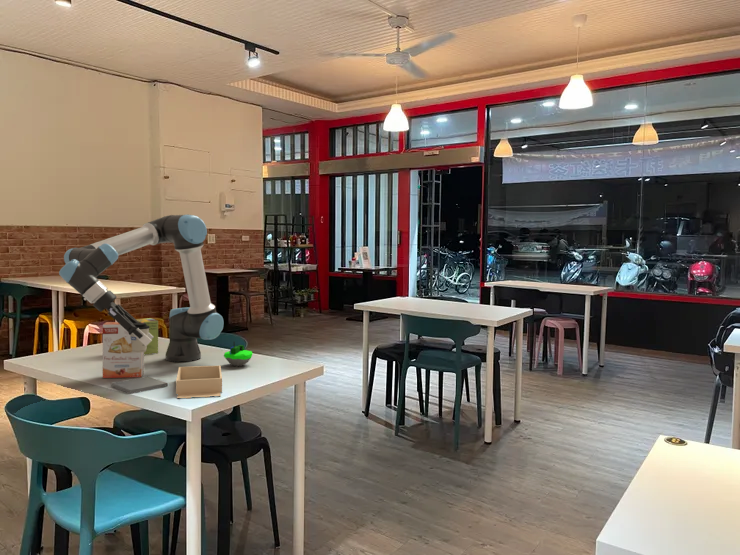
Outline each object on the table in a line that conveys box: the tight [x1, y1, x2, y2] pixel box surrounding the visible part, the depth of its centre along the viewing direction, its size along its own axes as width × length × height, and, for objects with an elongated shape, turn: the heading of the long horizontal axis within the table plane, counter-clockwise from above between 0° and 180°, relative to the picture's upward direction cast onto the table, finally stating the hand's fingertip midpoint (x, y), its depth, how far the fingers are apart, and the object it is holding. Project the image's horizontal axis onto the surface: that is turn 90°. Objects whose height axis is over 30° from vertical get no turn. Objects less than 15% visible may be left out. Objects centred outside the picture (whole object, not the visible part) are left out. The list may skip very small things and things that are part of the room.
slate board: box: [110, 375, 169, 394], centre depth 199 cm, size 14×14×1 cm
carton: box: [175, 365, 223, 399], centre depth 201 cm, size 15×31×5 cm, turn 17°
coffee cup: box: [130, 323, 150, 353], centre depth 198 cm, size 7×7×10 cm
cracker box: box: [102, 321, 145, 379], centre depth 213 cm, size 14×6×21 cm, turn 103°
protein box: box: [135, 317, 159, 355], centre depth 257 cm, size 10×15×16 cm
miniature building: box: [223, 341, 254, 367], centre depth 237 cm, size 12×12×11 cm
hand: (149, 341), depth 200 cm, fingers closed on coffee cup, 7 cm apart
